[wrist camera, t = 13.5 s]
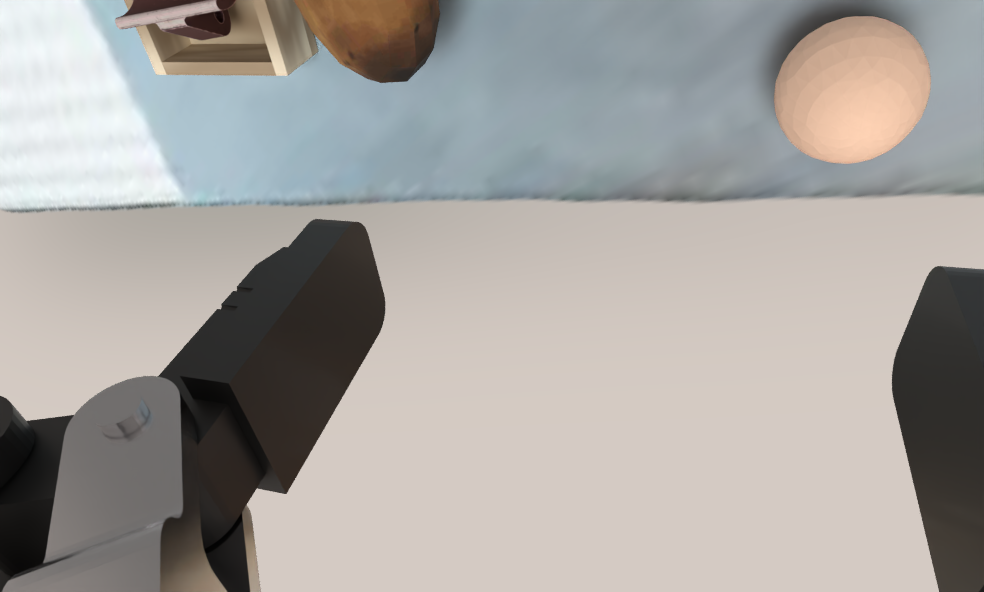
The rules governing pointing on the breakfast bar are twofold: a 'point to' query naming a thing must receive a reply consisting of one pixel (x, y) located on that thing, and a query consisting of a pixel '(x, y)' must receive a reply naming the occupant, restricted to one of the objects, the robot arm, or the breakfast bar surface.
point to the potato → (375, 34)
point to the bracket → (181, 17)
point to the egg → (852, 89)
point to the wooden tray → (237, 43)
